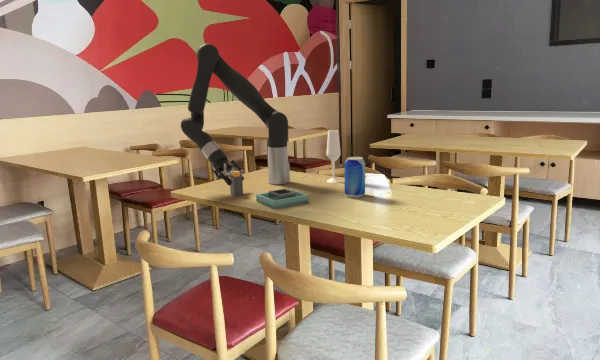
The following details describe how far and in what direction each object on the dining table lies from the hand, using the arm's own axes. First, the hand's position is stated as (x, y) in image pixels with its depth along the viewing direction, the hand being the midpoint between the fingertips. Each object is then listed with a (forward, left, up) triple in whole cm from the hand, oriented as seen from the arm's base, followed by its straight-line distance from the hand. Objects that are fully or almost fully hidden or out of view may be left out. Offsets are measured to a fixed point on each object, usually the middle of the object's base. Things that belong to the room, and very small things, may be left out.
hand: (236, 182), depth 208 cm
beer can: (-38, +33, -6) cm, 50 cm away
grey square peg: (0, 0, -5) cm, 5 cm away
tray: (-9, +23, -5) cm, 25 cm away
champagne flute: (-48, +5, -6) cm, 48 cm away
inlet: (-9, +23, -4) cm, 25 cm away
